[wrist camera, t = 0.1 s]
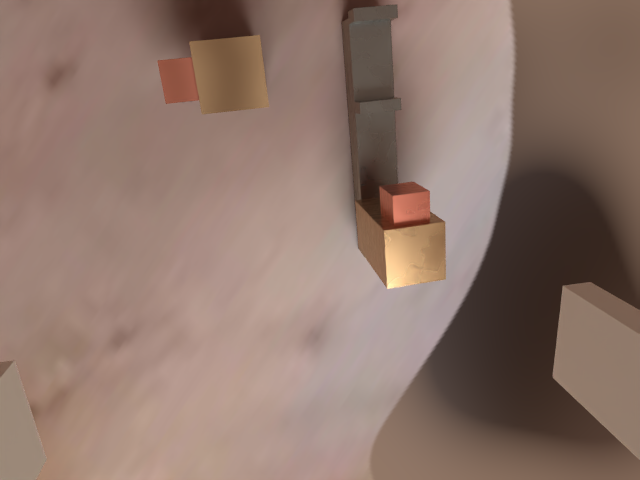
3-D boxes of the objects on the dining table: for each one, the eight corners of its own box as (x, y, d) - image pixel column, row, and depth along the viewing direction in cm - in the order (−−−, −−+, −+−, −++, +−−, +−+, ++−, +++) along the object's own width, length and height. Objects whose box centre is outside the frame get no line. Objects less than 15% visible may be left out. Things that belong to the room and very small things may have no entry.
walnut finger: (255, 45, 35) (259, 35, 27) (263, 101, 36) (268, 106, 28) (172, 53, 34) (152, 44, 26) (183, 110, 35) (167, 118, 28)
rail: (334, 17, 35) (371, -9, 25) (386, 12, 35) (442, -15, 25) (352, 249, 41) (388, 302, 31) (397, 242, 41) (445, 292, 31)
